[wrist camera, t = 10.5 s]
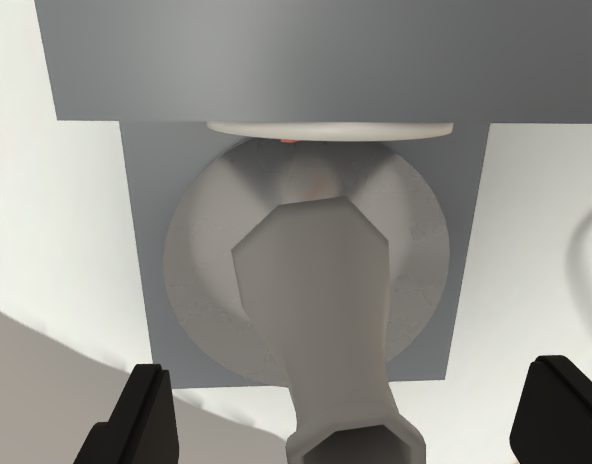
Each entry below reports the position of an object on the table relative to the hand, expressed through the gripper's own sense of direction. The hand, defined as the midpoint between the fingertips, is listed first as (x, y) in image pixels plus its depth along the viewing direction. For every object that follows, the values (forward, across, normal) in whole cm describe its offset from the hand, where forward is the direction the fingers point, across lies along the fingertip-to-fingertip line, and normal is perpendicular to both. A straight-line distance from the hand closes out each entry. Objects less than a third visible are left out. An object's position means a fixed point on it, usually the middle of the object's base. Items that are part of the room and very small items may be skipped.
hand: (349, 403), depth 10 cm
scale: (+15, +1, -1) cm, 15 cm away
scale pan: (+9, 0, +1) cm, 9 cm away
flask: (+8, 0, 0) cm, 9 cm away
